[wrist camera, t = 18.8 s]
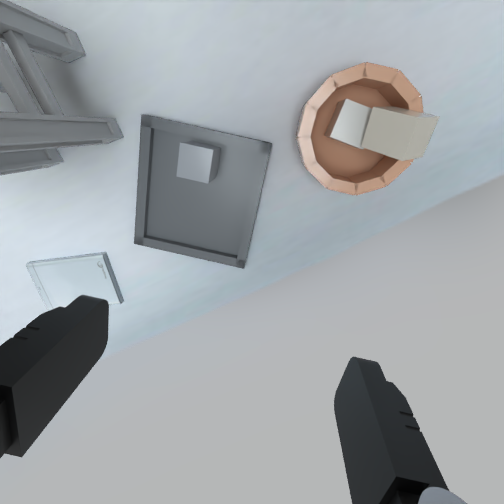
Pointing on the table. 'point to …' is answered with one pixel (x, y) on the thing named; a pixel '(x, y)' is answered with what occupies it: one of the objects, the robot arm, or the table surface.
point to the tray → (198, 193)
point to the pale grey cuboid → (349, 123)
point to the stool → (39, 95)
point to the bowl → (344, 156)
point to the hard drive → (74, 279)
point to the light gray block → (198, 161)
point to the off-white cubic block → (399, 132)
